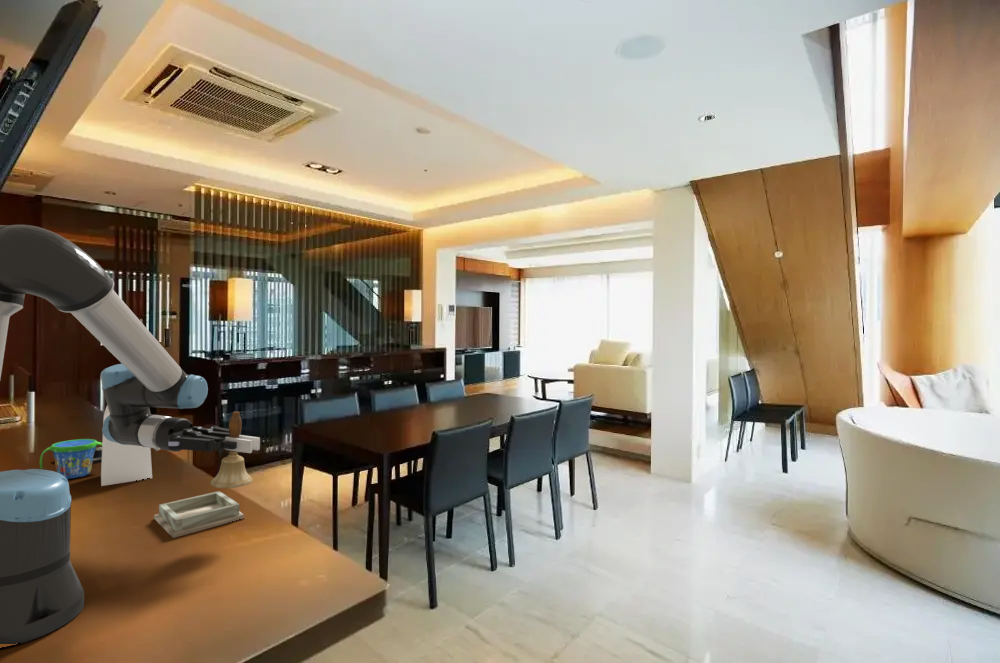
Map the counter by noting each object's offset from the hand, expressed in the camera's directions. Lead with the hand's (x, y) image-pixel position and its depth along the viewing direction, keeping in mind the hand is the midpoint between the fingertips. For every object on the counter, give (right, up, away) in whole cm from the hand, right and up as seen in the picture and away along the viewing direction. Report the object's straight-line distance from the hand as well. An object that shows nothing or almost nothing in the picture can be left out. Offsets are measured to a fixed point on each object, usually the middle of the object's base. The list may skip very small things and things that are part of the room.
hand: (254, 445), depth 110 cm
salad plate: (-85, -19, +59) cm, 105 cm away
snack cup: (-75, -19, +41) cm, 87 cm away
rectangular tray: (-19, -20, +11) cm, 29 cm away
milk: (-59, -19, +41) cm, 74 cm away
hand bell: (-6, -9, +1) cm, 11 cm away
